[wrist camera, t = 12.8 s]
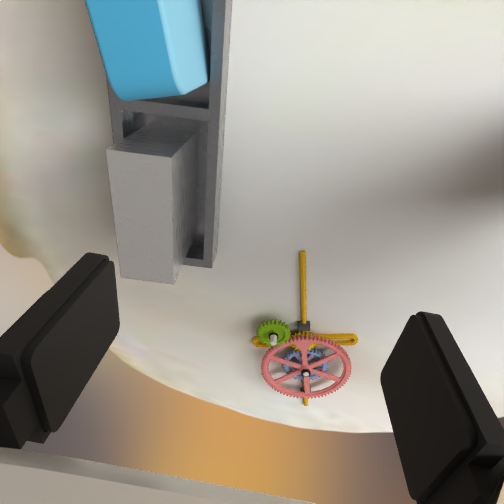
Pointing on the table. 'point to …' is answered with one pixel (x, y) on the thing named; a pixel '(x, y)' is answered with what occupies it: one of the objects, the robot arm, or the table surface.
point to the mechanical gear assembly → (302, 351)
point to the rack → (171, 168)
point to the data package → (151, 46)
